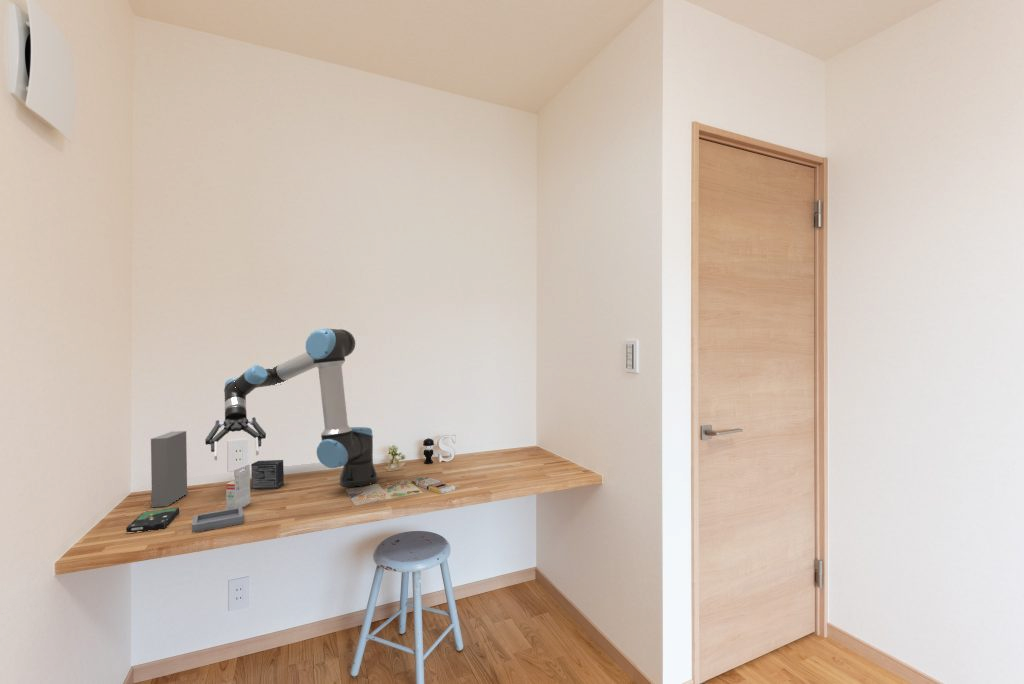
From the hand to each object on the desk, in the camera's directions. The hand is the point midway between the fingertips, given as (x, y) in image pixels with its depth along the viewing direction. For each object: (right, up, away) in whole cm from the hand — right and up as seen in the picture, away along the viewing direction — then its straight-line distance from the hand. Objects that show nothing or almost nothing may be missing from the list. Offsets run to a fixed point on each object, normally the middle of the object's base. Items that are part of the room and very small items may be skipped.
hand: (237, 455), depth 176 cm
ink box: (+6, -17, -9) cm, 20 cm away
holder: (+8, -17, -23) cm, 29 cm away
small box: (+4, -17, +15) cm, 23 cm away
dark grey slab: (-25, -17, -1) cm, 30 cm away
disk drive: (-14, -18, -22) cm, 32 cm away
